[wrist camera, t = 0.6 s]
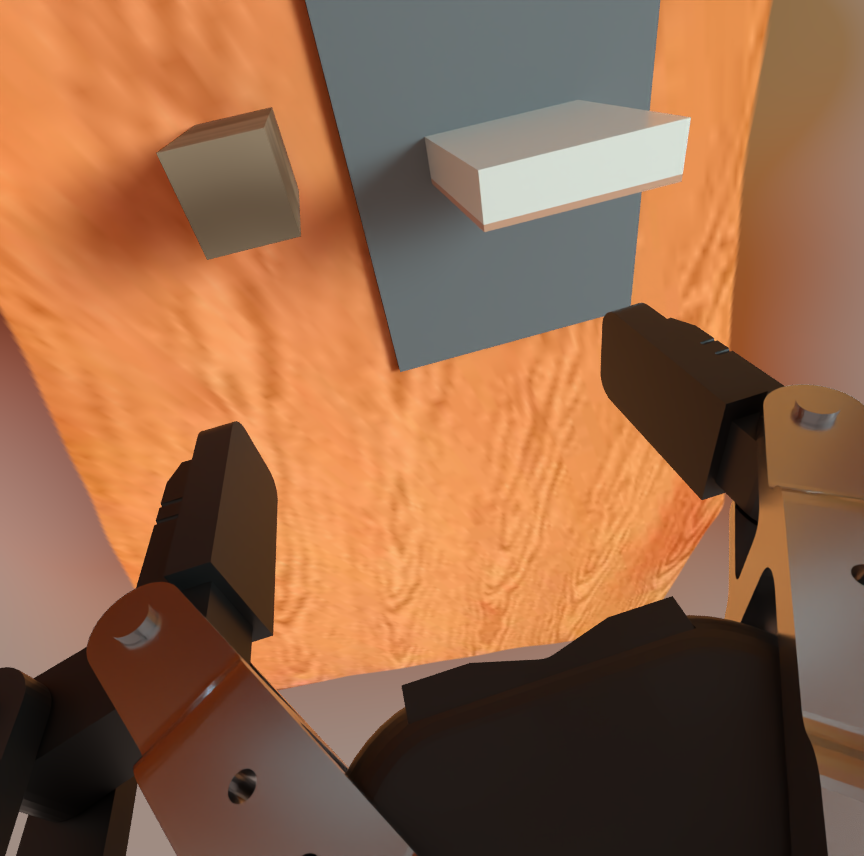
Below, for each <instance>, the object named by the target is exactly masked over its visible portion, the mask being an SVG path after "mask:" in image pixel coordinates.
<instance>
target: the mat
mask: <svg viewBox="0 0 864 856" xmlns="http://www.w3.org/2000/svg"><path fill="white" fill-rule="evenodd" d="M305 3H306V7H307V11H308V15H309V19H310V22H311V26H312V30H313V34H314V38H315V42H316V46H317V50H318V54H319V58H320V61H321V65H322V69H323V73H324V77H325V81H326V85H327V89H328V93H329V97H330V100H331V104H332V108H333V112H334V116H335V120H336V124H337V128H338V132H339V136H340V139H341V143H342V147H343V151H344V155H345V159H346V163H347V167H348V171H349V175H350V178H351V182H352V186H353V190H354V194H355V198H356V202H357V206H358V210H359V214H360V217H361V221H362V225H363V229H364V233H365V237H366V241H367V245H368V249H369V253H370V256H371V260H372V264H373V268H374V272H375V276H376V280H377V284H378V288H379V292H380V295H381V299H382V303H383V307H384V311H385V315H386V319H387V323H388V327H389V331H390V334H391V338H392V342H393V346H394V350H395V354H396V358H397V362H398V366H399V369H400V372H402V371H406V370H409V369H413V368H417V367H420V366H424V365H428V364H431V363H435V362H438V361H442V360H446V359H449V358H453V357H457V356H460V355H464V354H468V353H471V352H475V351H479V350H482V349H486V348H490V347H493V346H497V345H500V344H504V343H508V342H511V341H515V340H519V339H522V338H526V337H530V336H533V335H537V334H541V333H544V332H548V331H551V330H555V329H559V328H562V327H566V326H570V325H573V324H577V323H581V322H584V321H588V320H592V319H595V318H599V317H603V316H605V314H606V313H608V312H611V311H614V310H618V309H621V308H625V307H628V306H630V305H631V295H632V284H633V274H634V264H635V254H636V243H637V233H638V223H639V213H640V202H641V192H639V193H635V194H631V195H627V196H623V197H619V198H615V199H612V200H608V201H604V202H600V203H596V204H592V205H588V206H584V207H581V208H577V209H573V210H569V211H565V212H561V213H557V214H553V215H549V216H546V217H542V218H538V219H534V220H530V221H526V222H522V223H518V224H515V225H511V226H507V227H503V228H499V229H495V230H491V231H487V232H484V231H483V230H481V229H480V228H479V227H478V226H477V225H476V224H475V223H474V222H473V221H472V220H471V219H470V218H469V217H467V216H466V215H465V214H464V213H463V212H462V211H461V210H460V209H459V208H458V207H457V206H456V205H454V204H453V203H452V202H451V201H450V200H449V199H448V198H447V197H446V196H445V195H444V194H443V193H442V192H440V191H439V190H438V189H437V188H436V187H435V186H434V185H433V184H432V181H431V174H430V168H429V162H428V156H427V149H426V143H425V137H426V136H430V135H434V134H438V133H442V132H447V131H451V130H455V129H459V128H463V127H467V126H471V125H476V124H480V123H484V122H488V121H492V120H496V119H500V118H504V117H509V116H513V115H517V114H521V113H525V112H529V111H533V110H538V109H542V108H546V107H550V106H554V105H558V104H562V103H566V102H571V101H575V100H583V101H589V102H596V103H602V104H609V105H615V106H621V107H628V108H634V109H641V110H647V111H649V110H650V100H651V90H652V79H653V69H654V59H655V49H656V38H657V28H658V18H659V8H660V0H305Z"/></svg>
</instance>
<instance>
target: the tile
mask: <svg viewBox="0 0 864 856" xmlns="http://www.w3.org/2000/svg"><path fill="white" fill-rule="evenodd" d="M690 120H691V117H685V116H679V115H673V114H666V113H660V112H653V111H647V110H641V109H634V108H628V107H621V106H615V105H609V104H602V103H596V102H589V101H583V100H575V101H571V102H566V103H562V104H558V105H554V106H550V107H546V108H542V109H538V110H533V111H529V112H525V113H521V114H517V115H513V116H509V117H504V118H500V119H496V120H492V121H488V122H484V123H480V124H476V125H471V126H467V127H463V128H459V129H455V130H451V131H447V132H442V133H438V134H434V135H430V136H426V137H425V143H426V149H427V156H428V162H429V168H430V174H431V181H432V184H433V185H434V186H435V187H436V188H437V189H438V190H439V191H440V192H442V193H443V194H444V195H445V196H446V197H447V198H448V199H449V200H450V201H451V202H452V203H453V204H454V205H456V206H457V207H458V208H459V209H460V210H461V211H462V212H463V213H464V214H465V215H466V216H467V217H469V218H470V219H471V220H472V221H473V222H474V223H475V224H476V225H477V226H478V227H479V228H480V229H481V230H483V231H484V232H487V231H491V230H495V229H499V228H503V227H507V226H511V225H515V224H518V223H522V222H526V221H530V220H534V219H538V218H542V217H546V216H549V215H553V214H557V213H561V212H565V211H569V210H573V209H577V208H581V207H584V206H588V205H592V204H596V203H600V202H604V201H608V200H612V199H615V198H619V197H623V196H627V195H631V194H635V193H639V192H643V191H647V190H650V189H654V188H658V187H662V186H666V185H670V184H674V183H678V182H681V181H682V175H683V168H684V161H685V154H686V147H687V140H688V133H689V126H690Z"/></svg>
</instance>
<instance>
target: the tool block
mask: <svg viewBox="0 0 864 856" xmlns="http://www.w3.org/2000/svg"><path fill="white" fill-rule="evenodd" d="M156 154H157V156H158V158H159V160H160V162H161V164H162V166H163V168H164V170H165V172H166V174H167V177H168V179H169V181H170V183H171V185H172V187H173V189H174V191H175V193H176V195H177V198H178V200H179V202H180V204H181V206H182V208H183V210H184V212H185V214H186V216H187V218H188V221H189V223H190V225H191V227H192V229H193V231H194V233H195V235H196V237H197V239H198V242H199V244H200V246H201V248H202V250H203V252H204V254H205V256H206V258H207V260H209V259H213V258H217V257H221V256H225V255H229V254H232V253H236V252H240V251H244V250H248V249H252V248H256V247H260V246H264V245H268V244H272V243H276V242H280V241H284V240H288V239H292V238H296V237H300V236H301V228H300V205H299V189H298V186H297V183H296V180H295V177H294V174H293V171H292V167H291V164H290V161H289V158H288V155H287V152H286V149H285V146H284V143H283V140H282V137H281V133H280V130H279V127H278V124H277V121H276V118H275V115H274V112H273V109H272V107H271V108H266V109H262V110H258V111H254V112H249V113H245V114H241V115H236V116H232V117H228V118H224V119H219V120H215V121H211V122H206V123H202V124H198V125H194V126H193V127H192V128H190V129H189V130H187V131H186V132H185V133H183V134H182V135H181V136H179V137H178V138H176V139H175V140H174V141H172V142H171V143H169V144H168V145H167V146H165V147H164V148H163V149H161V150H160V151H158V152H157V153H156Z"/></svg>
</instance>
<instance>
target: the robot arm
mask: <svg viewBox="0 0 864 856" xmlns="http://www.w3.org/2000/svg"><path fill="white" fill-rule="evenodd" d="M601 380H602V385H603V388H604V390H605V392H606V394H607V396H608V398H609V399H610V400H611V401H612V402H613V403H614V405H615V406H616V407H617V408H618V409H619V410H620V411H621V412H622V413H623V414H624V415H625V417H626V418H627V419H628V420H629V421H630V422H631V423H632V424H633V425H634V426H635V428H636V429H637V430H638V431H639V432H640V433H641V434H642V435H643V436H644V437H645V439H646V440H647V441H648V442H649V443H650V444H651V445H652V446H653V447H654V448H655V449H656V451H657V452H658V453H659V454H660V455H661V456H662V457H663V458H664V459H665V460H666V462H667V463H668V464H669V465H670V466H671V467H672V468H673V469H674V470H675V471H676V472H677V474H678V475H679V476H680V477H681V478H682V479H683V480H684V481H685V482H686V483H687V485H688V486H689V487H690V488H691V489H692V490H693V491H694V492H695V493H696V494H697V495H698V497H699V498H700V499H701V500H704V499H707V498H710V497H713V496H716V495H720V494H723V493H726V494H727V495H729V497H731V499H732V500H733V501H732V504H731V507H730V514H729V517H730V518H729V519H730V520H729V531H730V532H729V595H728V603H727V609H726V614H725V619H721V618H716V617H709V616H694V615H688V616H686V615H685V613H684V612H683V610H682V609H681V607H680V606H679V605H678V604H677V602H676V600H675V599H674V598H673V596H672V597H669V598H666V599H663V600H660V601H657V602H654V603H650V604H647V605H644V606H641V607H638V608H635V609H632V610H629V611H626V612H623V613H620V614H617V615H614V616H611V617H608V618H606V619H605V620H603V621H602V622H601V623H599V624H598V625H596V626H595V627H593V628H592V629H590V630H589V631H587V632H586V633H584V634H583V635H582V636H580V637H579V638H577V639H576V640H574V641H573V642H571V643H570V644H568V645H567V646H566V647H564V648H563V649H561V650H560V651H558V652H557V653H555V654H554V655H552V656H550V657H548V658H545V659H539V660H520V661H501V662H482V663H469V664H466V665H462V666H459V667H457V668H453V669H450V670H447V671H444V672H441V673H438V674H435V675H433V676H429V677H426V678H423V679H420V680H417V681H414V682H411V683H408V684H405V685H402V691H403V696H404V702H405V708H403V709H401V710H400V711H398V712H397V713H395V714H394V715H393V716H392V717H391V718H390V719H389V720H387V721H386V722H385V723H384V724H383V725H382V726H380V727H379V729H378V730H377V731H376V732H375V733H374V734H373V735H372V736H371V737H370V738H369V740H368V741H367V742H366V743H365V745H364V746H363V747H362V749H361V750H360V751H359V753H358V754H357V755H356V757H355V758H354V760H353V762H352V763H351V765H350V767H348V766H347V765H346V764H345V763H344V762H343V761H342V760H341V759H340V758H339V757H338V756H337V754H336V753H335V752H334V751H333V750H332V749H331V748H330V747H329V746H328V745H327V744H326V743H325V742H324V741H323V740H322V739H321V738H320V737H319V736H318V735H317V733H316V732H315V731H314V730H313V729H312V728H311V727H310V726H309V725H308V724H307V723H306V722H305V720H304V719H303V718H302V717H301V716H300V715H299V714H298V713H297V712H296V711H295V710H294V708H293V707H292V706H291V705H290V704H289V703H288V702H287V701H286V700H285V699H284V698H283V697H282V695H280V693H279V692H278V691H277V690H276V689H275V688H274V687H273V686H272V685H271V683H270V682H269V681H268V680H267V679H266V678H265V677H264V676H263V675H262V674H261V673H260V671H259V670H258V669H257V668H256V667H255V666H254V665H253V664H252V663H251V662H250V660H251V645H252V642H254V641H257V640H260V639H263V638H266V637H270V636H273V623H274V593H275V563H276V533H277V503H278V498H277V490H276V486H275V483H274V480H273V477H272V475H271V473H270V471H269V469H268V467H267V466H266V464H265V462H264V461H263V459H262V457H261V455H260V454H259V452H258V450H257V449H256V447H255V445H254V444H253V442H252V440H251V439H250V437H249V435H248V433H247V432H246V430H245V428H244V427H243V426H242V425H241V424H240V423H239V422H237V421H235V422H232V423H228V424H225V425H222V426H218V427H215V428H211V429H208V430H205V431H201V432H200V433H199V434H198V437H197V441H196V445H195V449H194V453H193V458H192V460H189V461H185V462H182V463H181V464H180V466H179V467H178V469H177V470H176V471H175V473H174V474H173V475H172V477H171V478H170V479H169V481H168V482H167V484H166V487H165V491H164V494H163V498H162V501H161V505H162V507H161V508H159V511H158V515H157V518H156V522H157V525H154V528H153V532H152V535H151V539H150V542H149V546H148V549H147V553H146V556H145V559H144V563H143V566H142V570H141V573H140V577H139V580H138V583H137V587H136V589H134V590H132V591H130V592H129V593H127V594H125V595H124V596H123V597H121V598H120V599H119V600H117V601H116V602H115V603H114V604H113V605H112V606H111V607H110V608H109V609H108V610H107V611H106V612H105V613H104V614H103V615H102V617H101V618H100V619H99V621H98V622H97V624H96V625H95V627H94V629H93V631H92V633H91V635H90V637H89V640H88V644H87V647H86V648H84V649H83V650H81V651H79V652H78V653H76V654H74V655H72V656H71V657H69V658H67V659H66V660H64V661H62V662H60V663H59V664H57V665H55V666H54V667H52V668H50V669H49V670H47V671H46V672H44V673H42V674H40V675H39V676H37V677H35V678H31V677H30V676H28V675H26V674H25V673H23V672H21V671H19V670H17V669H14V668H9V667H5V668H0V856H5V854H6V851H7V848H8V844H9V841H10V838H11V835H12V832H13V829H14V826H15V822H16V819H17V816H18V813H19V812H23V813H25V814H28V818H27V821H26V824H25V828H24V831H23V834H22V838H21V841H20V845H19V848H18V851H17V854H16V856H126V851H127V845H128V839H129V832H130V826H131V820H132V814H133V808H134V802H135V796H136V789H137V783H138V785H139V787H140V789H141V791H142V793H143V795H144V797H145V799H146V800H147V802H148V804H149V806H150V808H151V809H152V811H153V813H154V815H155V817H156V819H157V820H158V822H159V823H160V826H161V828H162V830H163V831H164V833H165V835H166V837H167V839H168V840H169V842H170V844H171V846H172V848H173V849H174V851H175V853H176V855H177V856H864V405H863V404H862V403H861V402H860V401H858V400H857V399H855V398H853V397H852V396H850V395H848V394H846V393H843V392H840V391H838V390H835V389H832V388H828V387H823V386H817V385H803V384H801V385H790V386H784V385H782V384H781V383H779V382H778V381H776V380H775V379H773V378H772V377H770V376H769V375H767V374H766V373H764V372H763V371H762V370H760V369H759V368H757V367H755V366H754V365H753V364H751V363H749V362H748V361H747V360H745V359H744V358H742V357H741V356H739V355H738V354H736V353H735V352H734V351H731V352H730V351H729V348H728V347H726V346H725V345H723V344H722V343H720V342H719V341H714V338H713V337H712V336H710V335H709V334H707V333H706V332H704V331H703V330H701V329H700V328H698V327H697V326H695V325H692V324H689V323H686V322H682V321H679V320H676V319H673V318H669V319H666V318H665V317H664V316H662V315H661V314H659V313H658V312H657V311H655V310H654V309H652V308H651V307H650V306H648V305H647V304H645V303H638V304H635V305H631V306H628V307H625V308H621V309H618V310H614V311H611V312H608V313H606V314H605V316H604V318H603V324H602V349H601Z"/></svg>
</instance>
